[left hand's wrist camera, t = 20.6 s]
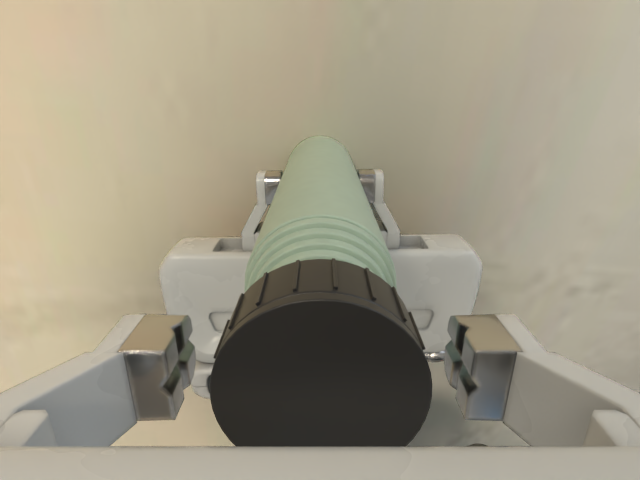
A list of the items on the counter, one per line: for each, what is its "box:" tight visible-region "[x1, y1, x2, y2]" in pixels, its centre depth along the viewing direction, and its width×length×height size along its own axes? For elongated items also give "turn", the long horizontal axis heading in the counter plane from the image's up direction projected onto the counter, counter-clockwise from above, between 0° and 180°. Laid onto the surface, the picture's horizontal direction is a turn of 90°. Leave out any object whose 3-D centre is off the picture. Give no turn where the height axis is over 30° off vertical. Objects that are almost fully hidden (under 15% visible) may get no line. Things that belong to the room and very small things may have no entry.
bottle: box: [244, 136, 397, 292], centre depth 20 cm, size 5×5×23 cm
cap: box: [210, 258, 432, 447], centre depth 9 cm, size 4×5×2 cm
